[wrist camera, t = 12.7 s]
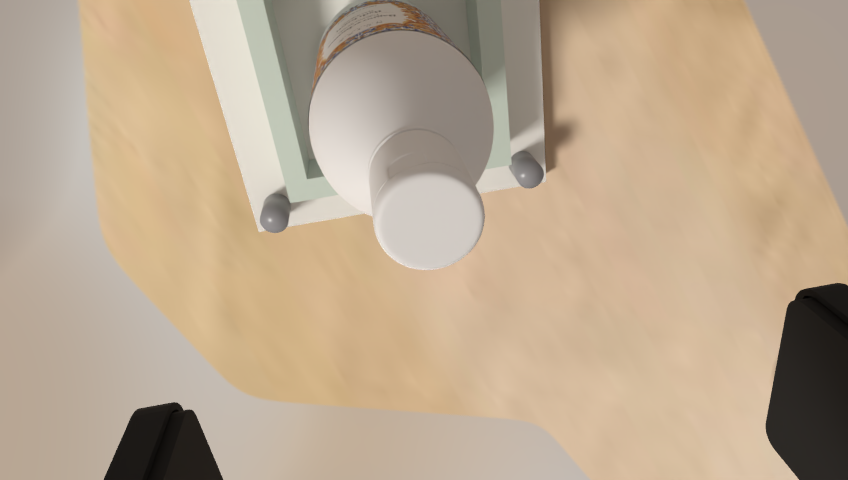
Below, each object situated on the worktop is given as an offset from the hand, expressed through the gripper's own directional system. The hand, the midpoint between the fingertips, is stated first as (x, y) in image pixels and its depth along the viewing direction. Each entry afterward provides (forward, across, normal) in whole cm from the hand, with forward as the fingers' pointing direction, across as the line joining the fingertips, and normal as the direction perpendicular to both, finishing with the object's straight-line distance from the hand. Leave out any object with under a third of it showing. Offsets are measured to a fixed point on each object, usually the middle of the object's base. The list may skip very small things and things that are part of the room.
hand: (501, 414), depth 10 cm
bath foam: (+27, 0, 0) cm, 27 cm away
